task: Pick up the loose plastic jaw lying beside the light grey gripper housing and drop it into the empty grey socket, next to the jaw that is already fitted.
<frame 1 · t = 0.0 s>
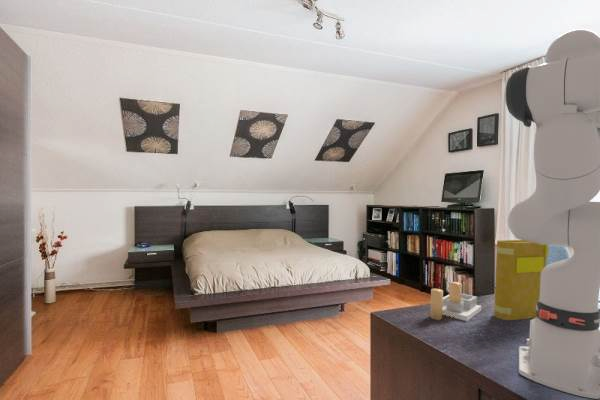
hand: (585, 171, 105), 48 cm above the cabinet, tool pointing down, fingers open, 8 cm apart
housing: (458, 311, 119), on the cabinet
jaw: (436, 317, 112), on the cabinet
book: (516, 316, 117), on the cabinet
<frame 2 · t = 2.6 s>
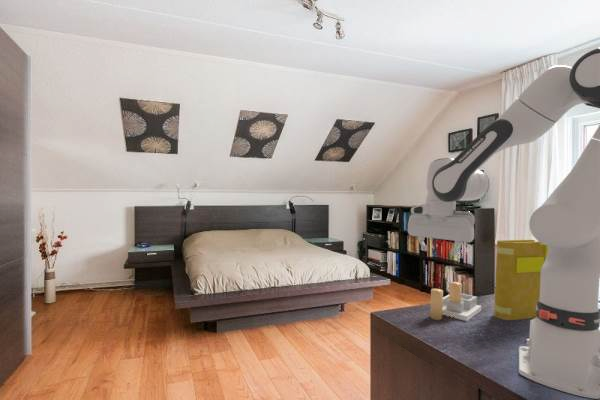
hand: (438, 252, 112), 21 cm above the cabinet, tool pointing down, fingers open, 8 cm apart
nothing on the cabinet moved.
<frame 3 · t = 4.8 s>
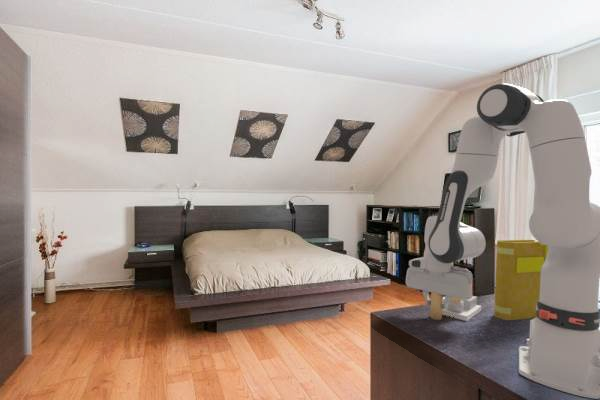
hand: (436, 306, 112), 4 cm above the cabinet, tool pointing down, fingers closed on jaw, 4 cm apart
jaw: (436, 317, 112), on the cabinet, touching gripper
everything else where it was.
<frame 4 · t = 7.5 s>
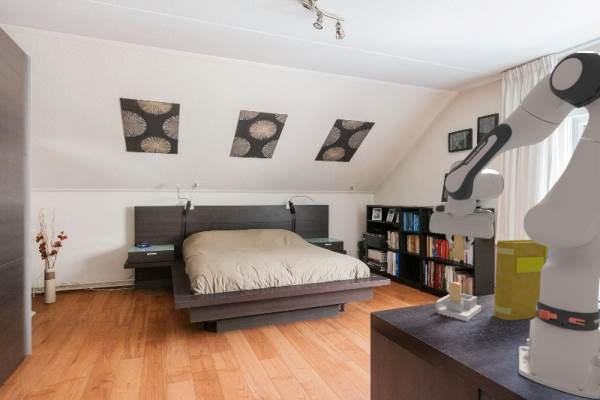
hand: (459, 248, 120), 21 cm above the cabinet, tool pointing down, fingers closed on jaw, 4 cm apart
jaw: (458, 259, 120), point 18 cm above the cabinet, touching gripper
everything else where it was.
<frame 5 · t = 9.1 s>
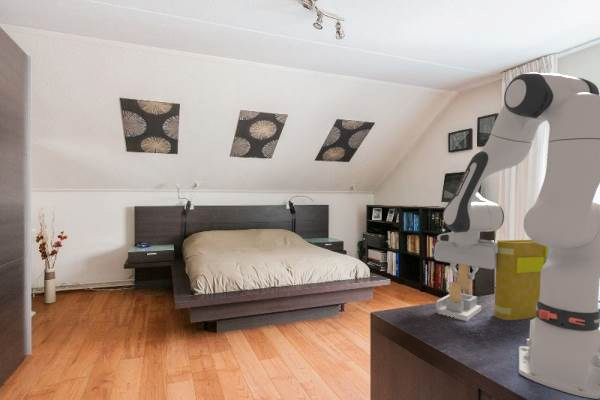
hand: (463, 277, 121), 11 cm above the cabinet, tool pointing down, fingers closed on jaw, 4 cm apart
jaw: (463, 287, 122), point 8 cm above the cabinet, touching gripper
everything else where it was.
when the fingers open (6 cm above the cabinet, at t = 10.5 s): jaw stays where it is, resting on housing.
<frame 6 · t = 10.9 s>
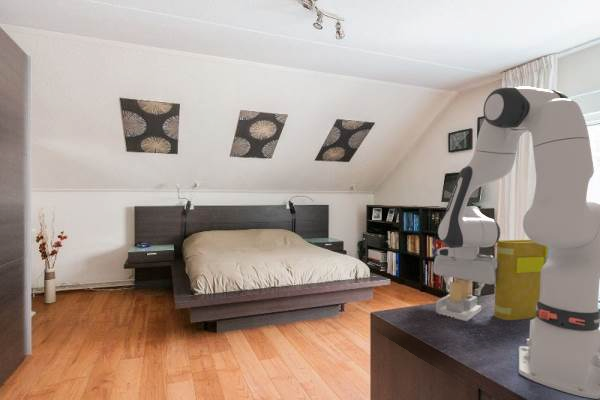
hand: (463, 291, 121), 6 cm above the cabinet, tool pointing down, fingers open, 8 cm apart
jaw: (462, 305, 122), point 1 cm above the cabinet, touching housing
everything else where it was.
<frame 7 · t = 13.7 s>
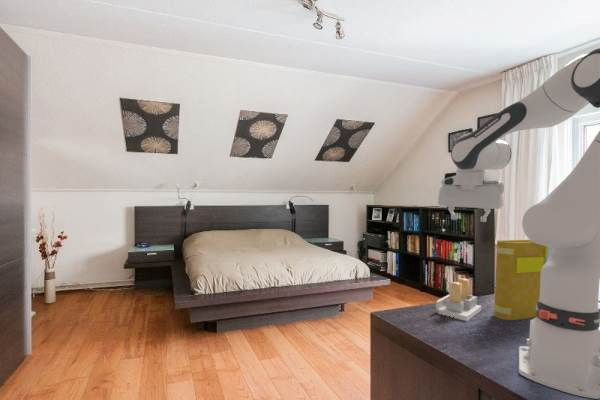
hand: (468, 220, 121), 31 cm above the cabinet, tool pointing down, fingers open, 8 cm apart
nothing on the cabinet moved.
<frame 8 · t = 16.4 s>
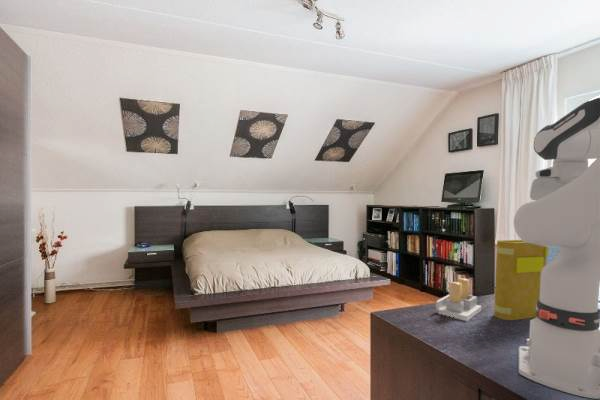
hand: (567, 216, 110), 34 cm above the cabinet, tool pointing down, fingers open, 8 cm apart
nothing on the cabinet moved.
at the end: jaw 0.0 cm from the target spot on the housing, point 1.5 cm above the housing's base; jaw tilted 0°; the gripper is holding nothing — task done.
